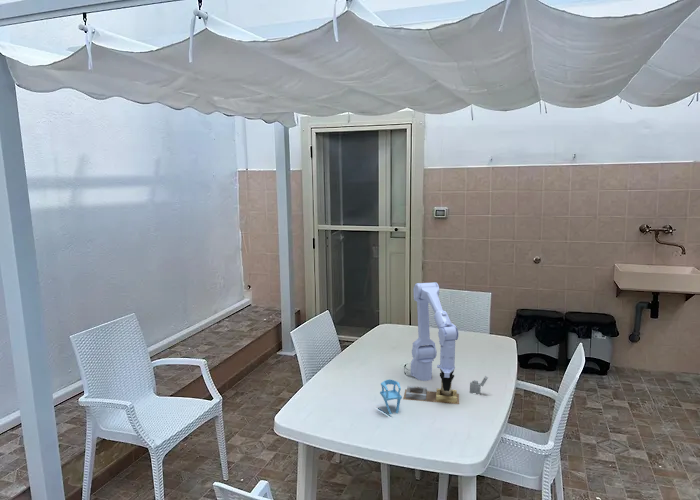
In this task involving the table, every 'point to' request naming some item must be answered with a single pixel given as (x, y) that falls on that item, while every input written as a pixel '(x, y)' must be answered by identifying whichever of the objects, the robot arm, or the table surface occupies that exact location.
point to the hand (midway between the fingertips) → (446, 388)
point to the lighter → (477, 385)
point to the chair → (390, 394)
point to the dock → (430, 395)
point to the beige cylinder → (445, 393)
